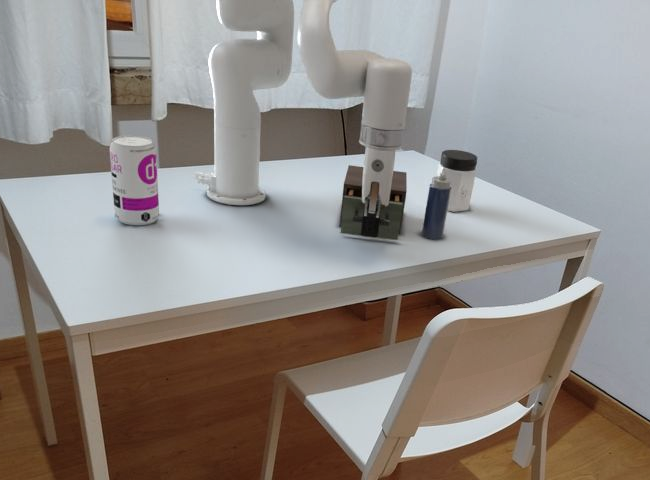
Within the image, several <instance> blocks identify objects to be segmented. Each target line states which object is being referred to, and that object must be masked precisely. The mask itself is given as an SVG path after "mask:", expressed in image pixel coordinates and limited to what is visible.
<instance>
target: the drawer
mask: <svg viewBox="0 0 650 480" xmlns="http://www.w3.org/2000/svg"><path fill="white" fill-rule="evenodd" d="M402 207H403V203H401V202H399V194H391V193H390V198H389V205H388V206H385V205H382V203H381V205H380V212H379V215H380V223H379V230H378V237H377V238H378V239H385V240H394V241H398V239H399V235H400V234H399V227H400V221H401V214H402ZM363 213H365V204H364V203H363V202H362V190H359V189H351V188H350V191H349V195H348V196H344V203H343V213H342V223H341V227H340V234H345V235H346V234H347V235H353V236H354V235H355V236H361V227H362V219H363ZM376 214H377V212H376ZM377 238H376V239H377Z"/></svg>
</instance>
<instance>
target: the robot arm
mask: <svg viewBox="0 0 650 480" xmlns="http://www.w3.org/2000/svg"><path fill="white" fill-rule="evenodd" d="M337 1H338V0H303V1H302V4H301V5H302V6H301V8H300V12H299V17H298V24H297V26H298V27H297V46H298V50H299V54H300V57H301V60H302V64H303V67H304V69H305V73H306V76H307V78H308V80H309V82H310V85H311V86H312V88H313V89H314V91H315V92H316V93H317V94H318V95H319V96H320V97H322V98H324V99H328V100H338V99H349V98H361V97H362V98H363V103H362V113H361V122H360V131H359V140H358V142H359V144H360V145H361V146H362V147H363V146H364V147H365V149H364V160H363V167H364V168H363V181H362V202H363V203H364V204H365V213H363V219H362V227H361V235H360V237H368V238H376V239H377V237H378V230H379V223H380V215H379V212H380V205H381V203H382V205H385V206H388V205H389V198H390V191H391V184H392V177H393V171H395V170H394V169H395V161H396V151H397V150H401V149H402V147H403V142H404V134H405V127H406V121H407V120H406V119H407V113H408V112H407V111H408V106H409V99H410V91H411V84H412V79H413V78H412V77H413V68H412V66H411V65H410V64H409V63H408V62H407V61H404V60H401V59H397V58H389V57H385V56H382V55H381V54H379V53H376V52H375V51H371V50H367V49H345V50H344V49H343V50H342V49H341V50H337V47H336V45H335V42H334V38H333V35H332V32H331V28H330V11H331V8H332V5H333V4H334V3H336V2H337ZM216 12H217V17H218V21H219V22H220V24H221V25H222V26H223V27H224V28H225V29H226V30H230V31H234V32H246V33H248V32H254V33H255V32H256V35H257V37H256V38H230V39H225V40H222V41H220V42H218V43H217V44H215V45H214V46H213V47H212V49H211V51H210V53H209V57H208V70H209V75H210V81H211V86H212V87H211V88H212V95H213V123H214V124H213V126H214V127H213V129H214V130H213V134H214V135H213V137H214V139H213V140H214V141H213V143H214V144H213V145H214V146H213V148H214V149H213V152H214V153H213V154H214V156H213V157H214V159H213V161H214V166H213V171H214V172H209V173H205V172H200V171H196V172H195V173H194V181H195V182H197V184H198V185H208V187H207V189H206V195H207V197H208V198H209V199H210V200H212V201H214V202H216V203H219V204H225V205H231V206H250V205H256V204H260V203H262V202H263V201H264V200H265V199H266V195H267V194H266V193H267V192H266V191H265V189H263V188H262V187H260V163H261V162H260V160H261V159H260V157H261V130H262V129H261V127H262V115H261V114H262V113H261V109H260V106H259V103H258V101H257V99H256V97H255V95H254V91H257V90H267V89H268V90H269V89H275V88H279V87H281V86H283V85H284V84H285V83H286V82H287V81H288V79H289V77H290V75H291V72H292V64H293V51H294V50H293V48H294V29H295V28H294V27H295V5H294V0H216ZM376 212H377V214H376Z"/></svg>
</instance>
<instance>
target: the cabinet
mask: <svg viewBox="0 0 650 480" xmlns="http://www.w3.org/2000/svg"><path fill="white" fill-rule="evenodd" d="M363 168H364V166H360V165H359V166H358V165H350V164H349V165H348V166H347V170H346V174H345V178H344V180H343V181H344V182H343V187H342V196H341V208H340V218H339V219H340V220H339V226H338V227H339V228H341V223H342V213H343V203H344V196H348V195H349V191H350V188H351V189H359V190H362V181H363ZM407 183H408V182H407V172H405V171H398V170H393V177H392V184H391V191H390V193H391V194H399V202H401V203H403V207H402V214H401V221H400V227H399V234H398V235H401V232H402V225H403V224H402V223H403V218H404V211H405V204H406V198H407V191H408V190H407V187H408V186H407Z"/></svg>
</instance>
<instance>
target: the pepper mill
mask: <svg viewBox="0 0 650 480" xmlns="http://www.w3.org/2000/svg"><path fill="white" fill-rule="evenodd" d="M451 189H452V188H451V180H450V179H449V178H446V174H445V173H440V174H439V176H437V175H436V176H433V177H432V178H431V183H430V184H429V187H428V193H427V199H426V206H425V212H424V217H423V222H422V229H421V236H422V237H424V238H425V239H428V240H442V239H443V236H444V232H445V226H446V221H447V216H448V212H449V211H448V205H449V200H450V194H451Z"/></svg>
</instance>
